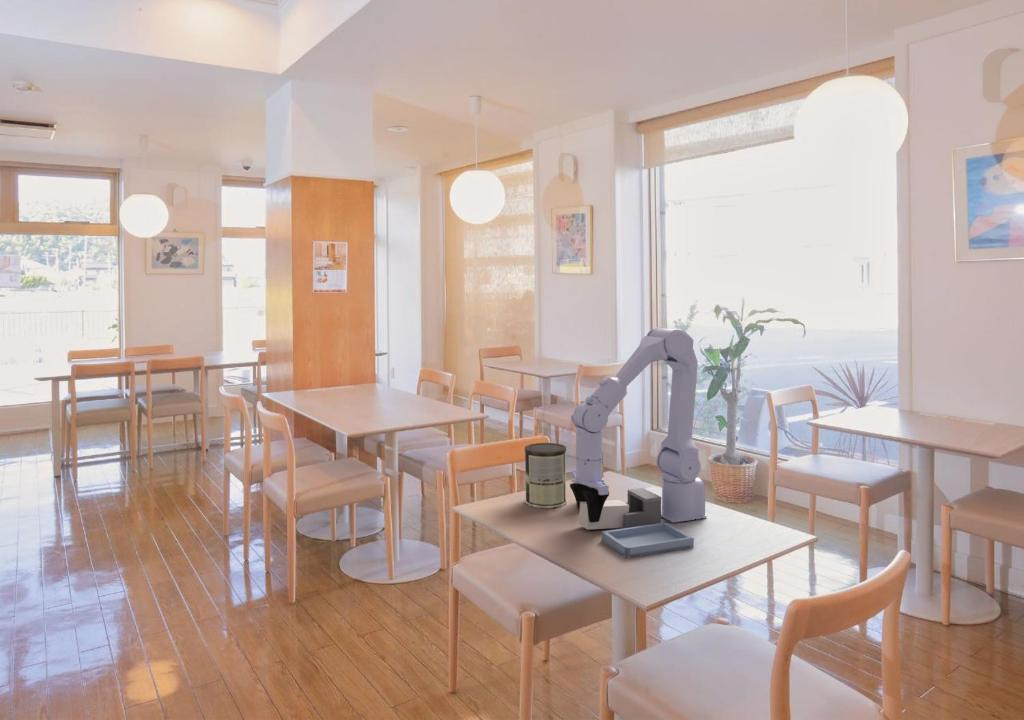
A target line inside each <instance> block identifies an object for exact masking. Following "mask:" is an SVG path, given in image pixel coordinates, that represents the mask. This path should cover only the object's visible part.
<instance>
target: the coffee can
mask: <svg viewBox="0 0 1024 720" xmlns="http://www.w3.org/2000/svg"><path fill="white" fill-rule="evenodd" d="M566 453H567V447H566V445H565V444H564V445H563V444H561V443H555V442H537V443H530V444H527V445H526V446H525V447H524V455H525V456H524V457H525V458H524V459H525V461H524V463H525V470H524V471H525V503H527V504H528V505H527V504H526V505H527V506H529V505H530V506H529V507H531V506H533V507H532V508H535V507H539V508H538V509H554V507H557V508H560V507H563V506H565V505H566V504H567V484H566V483H567V482H566V481H567V480H566V478H567V474H566V473H567V472H566V467H567V466H566V465H567V464H566V460H567V459H566V458H567V457H566V456H567V454H566Z"/></svg>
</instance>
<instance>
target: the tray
mask: <svg viewBox="0 0 1024 720" xmlns="http://www.w3.org/2000/svg"><path fill="white" fill-rule="evenodd" d="M694 541H695V539H694V537H693V536H691V535H689V534H687V533H685V532H683V531H682V530H680V529H678V528H676V527H674V526H672V525H671V524H669V523H668V522H661V523H658V524H651V525H644V526H637V527H630V528H615V529H611V530H603V531H601V542H603V543H604V544H606V545H607V546H608V547H610V548H611V547H612V548H611V549H612V550H614V551H616V552H617V553H618V552H619V553H618V554H620V555H621V556H623V557H624V558H625V559H629V558H628V557H631V558H636V557H635V556H637V557H641V556H642V555H643V556H649V555H654V554H660V553H668V552H674V551H679V550H685V549H691V548H692V549H693V548H694V545H695V543H694ZM643 556H642V557H643Z"/></svg>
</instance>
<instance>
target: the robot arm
mask: <svg viewBox="0 0 1024 720" xmlns="http://www.w3.org/2000/svg"><path fill="white" fill-rule="evenodd" d="M659 361H660V362H661V361H664V362H665V363H666V364H667V365H668V366H669V367H670V368H671V369H672V373H671V374H672V375H671V388H670V397H669V398H670V400H669V401H670V402H669V411H668V413H669V415H668V425H667V426H668V429H667V436H666V437H665V438H664V439H663V440H662V442H661V444H660V450H659V452H658V454H657V456H656V461H655V462H656V466H657V468H658V469H659V471H661V478H662V481H661V483H662V485H661V488H662V489H661V518H663V519H665V520H667V521H668V522H670V523H673V524H675V523H681V522H688V521H695V519H696V520H701V518H703V519H707V518H708V515H707V514H706V486H705V484H704V481H703V480H702V479H701V478H700V477H698V476H699V475H700V473H701V469H702V464H701V460H700V458H699V447H698V446H697V445H696V444H695V441H694V440H693V428H694V416H695V415H694V414H695V403H696V402H695V401H696V391H697V389H696V388H697V377H698V375H697V374H698V359H697V357H696V353H695V350H694V339H693V337H692V336H691V335H690V334H688V332H687V331H685V330H684V329H681V328H678V329H674V328H671V329H670V328H663V327H654V328H652V329H650V330H649V331H648V332H647V333H646V335H645V336H644V337H642V338H641V340H640V342H639V346H638V347H637V348H636V349H635V351H634V352H633V353H632V354H631V355H630V357H628V359H627V361H626V362H625V363H624V364H623V366H622V367H621V368H620V369H619V371H618V372H617V373H616V375H615V376H610V377H606V378H605V379H600V381H599V383H598V384H599V386H598V387H597V388H596V389H595V390H594V391H593V392H592V394H591V395H590V396H587V397H586V398H585V402H583V403H579V404H578V405H577V406H576V407H575V408H574V410H573V413H572V414H571V416H570V419H571V422H572V424H573V425H574V426H575V465H576V466H575V469H573V470H571V472H570V475H571V477H570V478H571V479H570V481H571V482H572V483H569V488H570V489H571V491H572V493H573V497H574V498H575V503H576V507H577V511H578V512H579V511H580V502H584V501H586V503H587V509H588V518H589V522H591V523H592V522H599V520H600V516H601V512H602V508H603V505H604V503H605V501H607V499H608V497H609V496H610V490H609V488H610V487H609V485H608V484H607V483H606V481H605V479H603V478H604V476H603V477H602V452H603V429H605V428H606V427H607V424H608V420H609V416H610V415H611V413H613V411H614V409H615V408H617V406H619V404H620V403H621V402H622V400H624V398H625V397H626V396H627V393H628V392H627V391H628V390H627V387H628V386H629V385H630V384H631V383H632V382H633V381H634V380H635V379H636V378H637V377H638V376H639V375H640V374H641V373H642V372H643V371H644V370H645V369H646V368H647V367H648V366H649V365H650V364H651V363H653V362H659ZM706 517H707V518H706Z"/></svg>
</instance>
